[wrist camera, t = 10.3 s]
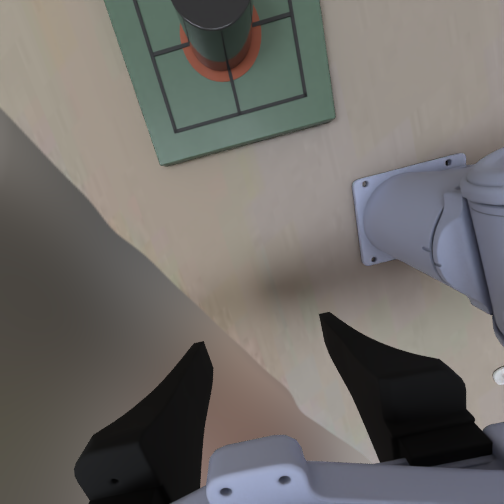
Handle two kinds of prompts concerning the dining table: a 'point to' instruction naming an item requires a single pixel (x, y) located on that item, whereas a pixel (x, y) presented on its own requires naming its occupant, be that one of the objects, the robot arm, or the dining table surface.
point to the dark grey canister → (217, 30)
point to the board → (225, 78)
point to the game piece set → (499, 376)
